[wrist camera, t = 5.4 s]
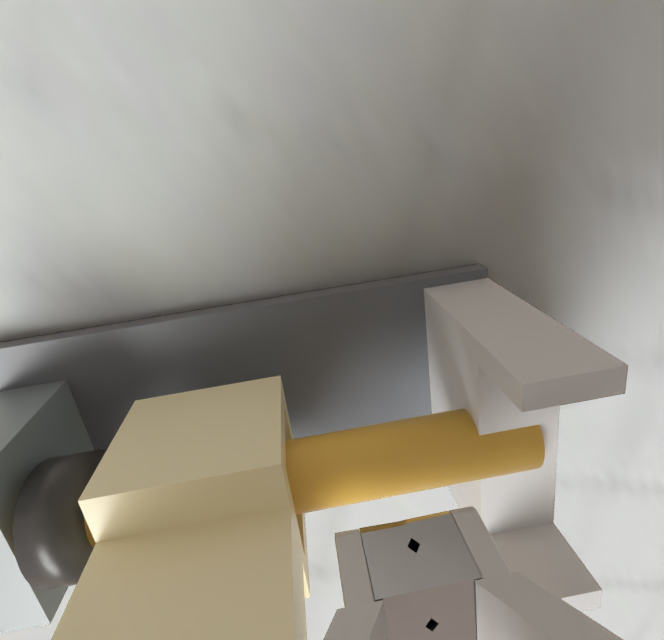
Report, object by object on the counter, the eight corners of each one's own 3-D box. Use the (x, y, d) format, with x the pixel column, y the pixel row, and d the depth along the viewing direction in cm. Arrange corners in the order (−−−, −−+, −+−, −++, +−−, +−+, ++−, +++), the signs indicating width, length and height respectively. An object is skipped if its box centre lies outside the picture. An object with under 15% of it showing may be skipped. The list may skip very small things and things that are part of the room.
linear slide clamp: (479, 263, 14) (629, 350, 8) (482, 446, 17) (599, 617, 11) (-9, 343, 14) (-248, 505, 7) (72, 522, 16) (-56, 753, 10)
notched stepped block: (280, 375, 13) (282, 648, 6) (302, 483, 14) (324, 809, 7) (135, 400, 12) (-46, 716, 5) (172, 508, 14) (64, 868, 7)
